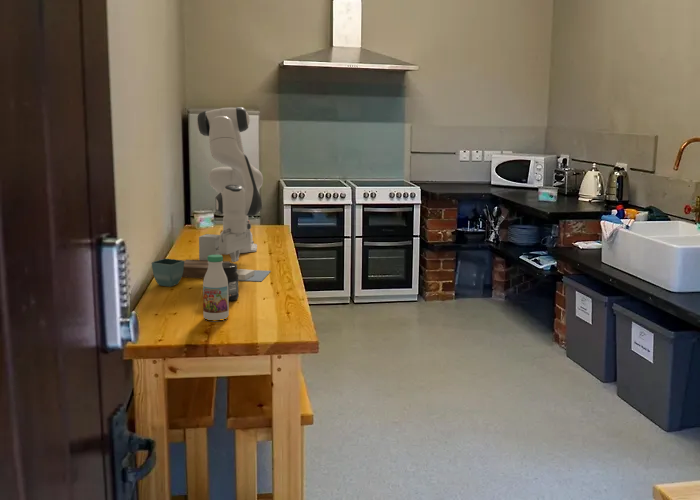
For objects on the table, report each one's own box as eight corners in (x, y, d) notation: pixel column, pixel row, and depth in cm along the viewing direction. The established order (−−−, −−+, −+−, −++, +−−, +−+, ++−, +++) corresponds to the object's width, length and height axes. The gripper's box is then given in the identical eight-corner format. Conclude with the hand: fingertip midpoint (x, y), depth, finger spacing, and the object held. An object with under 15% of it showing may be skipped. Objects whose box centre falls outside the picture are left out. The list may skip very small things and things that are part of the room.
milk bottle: (205, 315, 217) (203, 253, 213) (229, 315, 217) (229, 253, 214) (202, 322, 209) (200, 258, 205) (227, 322, 210) (226, 258, 206)
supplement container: (211, 294, 241) (211, 261, 239) (241, 295, 241) (241, 262, 239) (204, 302, 231) (203, 267, 229) (235, 303, 231) (235, 268, 229)
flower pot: (185, 283, 257) (185, 260, 255) (172, 288, 248) (171, 264, 247) (165, 281, 259) (164, 258, 258) (151, 286, 251) (150, 262, 249)
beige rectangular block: (254, 270, 271) (254, 275, 271) (240, 268, 273) (240, 273, 273) (244, 274, 262) (244, 280, 263) (230, 273, 264) (230, 278, 264)
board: (186, 269, 280) (186, 259, 280) (230, 270, 279) (229, 261, 278) (175, 276, 267) (175, 266, 266) (220, 278, 265) (220, 268, 264)
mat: (234, 270, 281) (234, 269, 281) (270, 271, 280) (270, 270, 279) (223, 280, 263) (223, 279, 263) (261, 281, 262) (261, 281, 262)
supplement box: (215, 267, 285) (215, 237, 283) (198, 266, 287) (198, 236, 284) (222, 263, 292) (221, 234, 290) (205, 262, 294) (205, 233, 292)
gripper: (229, 231, 258) (229, 267, 260) (253, 223, 277) (253, 257, 279) (214, 230, 260) (214, 266, 262) (239, 222, 279) (239, 255, 281)
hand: (235, 261), depth 271 cm, fingers closed
